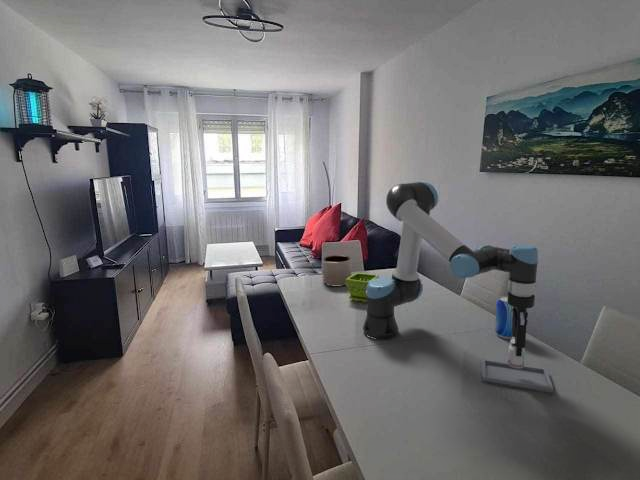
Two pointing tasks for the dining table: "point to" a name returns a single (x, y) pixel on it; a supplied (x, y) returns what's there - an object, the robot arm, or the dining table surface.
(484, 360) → the rest tray
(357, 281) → the flower pot
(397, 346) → the dining table surface
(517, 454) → the dining table surface
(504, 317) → the beer can
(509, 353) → the pill bottle
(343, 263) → the planter
